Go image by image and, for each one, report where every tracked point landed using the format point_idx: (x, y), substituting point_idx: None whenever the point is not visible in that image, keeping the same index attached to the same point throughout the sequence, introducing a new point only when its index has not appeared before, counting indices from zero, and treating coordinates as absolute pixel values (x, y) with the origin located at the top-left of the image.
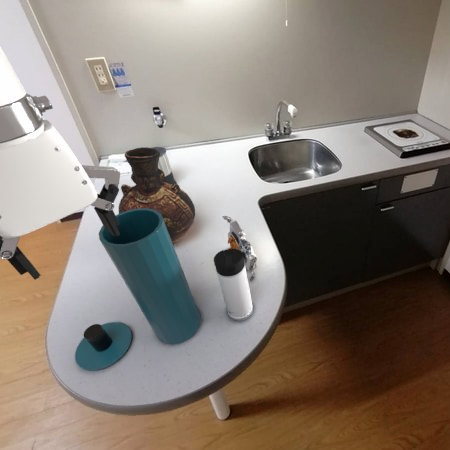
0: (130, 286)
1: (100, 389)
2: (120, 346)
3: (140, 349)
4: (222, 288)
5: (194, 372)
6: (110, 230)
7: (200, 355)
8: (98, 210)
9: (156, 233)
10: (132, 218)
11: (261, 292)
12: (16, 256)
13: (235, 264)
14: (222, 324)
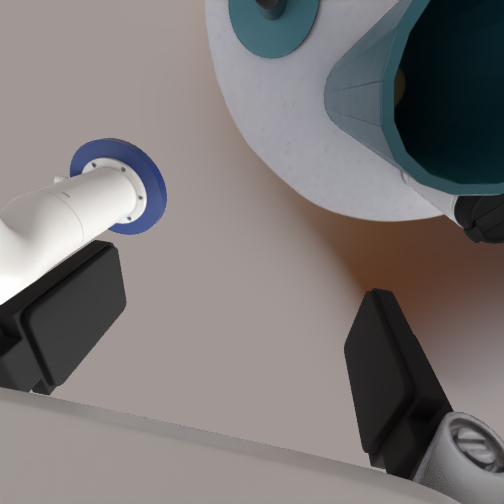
0: (344, 94)
1: (230, 77)
2: (284, 39)
3: (298, 72)
4: None
5: (309, 175)
6: (351, 355)
7: (331, 165)
8: (388, 426)
9: (491, 193)
10: None
11: None
12: (36, 392)
13: (483, 241)
14: None
